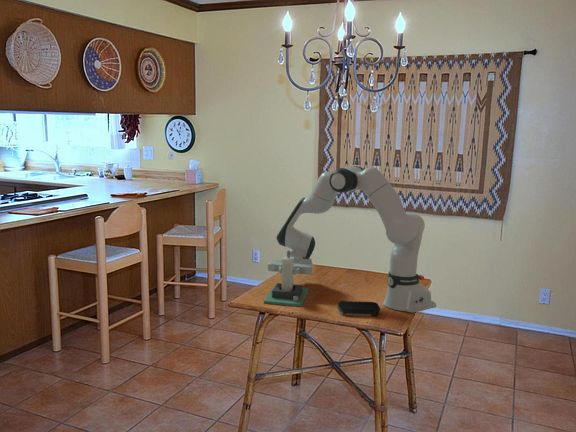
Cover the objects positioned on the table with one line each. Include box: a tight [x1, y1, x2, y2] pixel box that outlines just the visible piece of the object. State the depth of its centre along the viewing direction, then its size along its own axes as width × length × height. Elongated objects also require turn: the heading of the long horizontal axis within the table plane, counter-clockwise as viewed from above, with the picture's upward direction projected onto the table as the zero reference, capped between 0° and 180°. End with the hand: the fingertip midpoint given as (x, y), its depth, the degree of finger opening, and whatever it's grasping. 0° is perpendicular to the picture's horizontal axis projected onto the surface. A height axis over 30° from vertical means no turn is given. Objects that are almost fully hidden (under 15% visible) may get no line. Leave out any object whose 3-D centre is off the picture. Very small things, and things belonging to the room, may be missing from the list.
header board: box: [263, 282, 310, 307], centre depth 229 cm, size 22×16×4 cm
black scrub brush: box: [337, 300, 381, 318], centre depth 212 cm, size 16×8×4 cm, turn 88°
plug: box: [281, 250, 295, 292], centre depth 227 cm, size 5×4×18 cm
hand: (287, 272), depth 226 cm, fingers closed on plug, 4 cm apart
